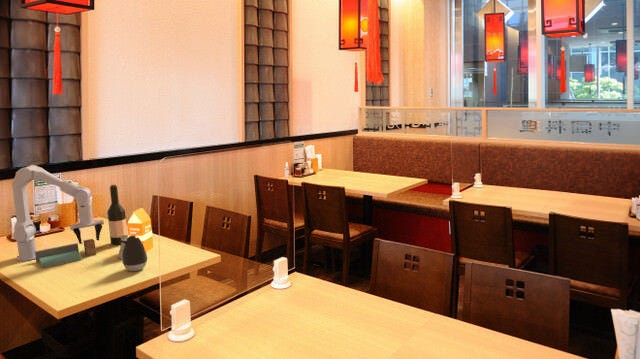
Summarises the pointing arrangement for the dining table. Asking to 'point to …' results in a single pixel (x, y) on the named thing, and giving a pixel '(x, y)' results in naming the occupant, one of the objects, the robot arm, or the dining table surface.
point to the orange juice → (141, 228)
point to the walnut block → (89, 247)
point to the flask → (122, 246)
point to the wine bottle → (116, 218)
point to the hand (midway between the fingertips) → (89, 241)
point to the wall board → (58, 255)
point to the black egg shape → (134, 254)
